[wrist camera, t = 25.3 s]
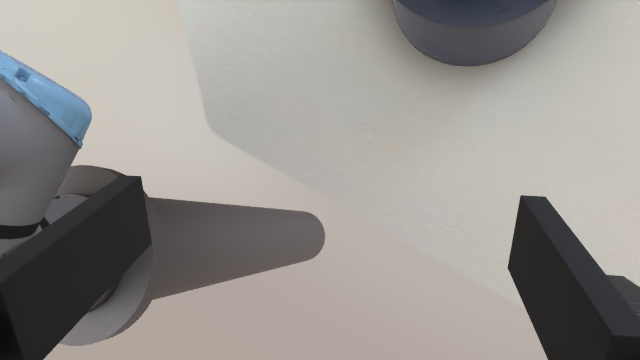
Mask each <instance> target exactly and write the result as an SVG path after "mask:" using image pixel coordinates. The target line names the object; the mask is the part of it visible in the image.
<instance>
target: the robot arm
mask: <svg viewBox="0 0 640 360" xmlns="http://www.w3.org/2000/svg"><path fill="white" fill-rule="evenodd" d="M91 117H92V114H91V110H90V107H89V106H88V104H87V103H86V102H85V101H84V100H83V99H81V98H80V97H78V96H77V95H75V94H74V93H72V92H71V91H69V90H68V89H66V88H64V87H63V86H61V85H59V84H58V83H56V82H54V81H52V80H51V79H49V78H48V77H46V76H44V75H43V74H41V73H39V72H37V71H36V70H34V69H32V68H30V67H29V66H27V65H25V64H23V63H22V62H20V61H18V60H16V59H14V58H13V57H11V56H9V55H8V54H6V53H4V52H2V51H0V360H43V359H44V358H45V357H46V356H47V355H48V354H49V353H50V352H51V351H52V349H53V348H54V347H55V346H56V345H57V344H58V343H59V342H60V341H61V340H62V339H63V338H64V337H65V336H66V334H67V333H68V332H69V331H70V330H71V329H72V328H73V327H74V326H75V325H76V324H77V323H78V322H79V320H80V319H81V318H82V317H83V316H84V315H85V314H86V313H88V312H90V311H93V310H95V309H96V308H98V307H99V306H101V305H102V304H103V303H105V302H106V301H107V300H108V299H109V297H110V296H111V295H112V294H113V292H114V291H115V289H116V288H117V286H118V284H119V282H120V279H121V277H122V274H123V273H124V272H125V271H126V270H127V269H128V268H129V267H130V266H131V265H132V264H133V263H134V261H135V260H136V259H137V258H138V257H139V256H140V255H141V254H142V253H143V252H144V251H145V250H146V249H147V248H148V246H149V245H150V244H151V243H152V242H151V236H150V230H149V223H148V217H147V211H146V205H145V199H144V192H143V186H142V180H141V176H124V175H121V176H119V177H118V178H117V179H115V180H114V181H112V182H111V183H109V184H108V185H106V186H105V187H104V188H102V189H101V190H99V191H98V192H96V193H95V194H93V195H92V196H88V195H81V194H62V195H57V196H55V194H56V192H57V190H58V188H59V186H60V185H61V183H62V181H63V179H64V177H65V175H66V173H67V171H68V169H69V167H70V165H71V164H72V162H73V160H74V158H75V156H76V154H77V152H78V150H79V149H81V147H82V145H83V144H82V140H83V138H84V135H85V133H86V131H87V129H88V127H89V124H90V122H91ZM508 269H509V272H510V274H511V276H512V278H513V281H514V283H515V285H516V288H517V290H518V292H519V294H520V297H521V299H522V301H523V303H524V306H525V308H526V310H527V313H528V315H529V317H530V319H531V321H532V324H533V326H534V328H535V331H536V333H537V335H538V337H539V340H540V342H541V344H542V347H543V349H544V351H545V353H546V356H547V358H548V360H640V287H639V286H637V285H635V284H634V283H632V282H631V281H629V280H628V279H626V278H625V277H623V276H613V275H606V274H605V273H604V272H603V270H602V269H601V268H600V267H599V265H598V264H597V263H596V261H595V260H594V259H593V258H592V256H591V255H590V254H589V252H588V251H587V250H586V249H585V247H584V246H583V245H582V243H581V242H580V241H579V239H578V238H577V237H576V236H575V234H574V233H573V232H572V230H571V229H570V228H569V227H568V225H567V224H566V223H565V221H564V220H563V219H562V218H561V216H560V215H559V214H558V212H557V211H556V210H555V209H554V207H553V206H552V205H551V203H550V202H549V201H548V199H547V198H546V197H539V196H521V197H520V202H519V208H518V214H517V219H516V225H515V230H514V236H513V241H512V247H511V253H510V258H509V264H508Z"/></svg>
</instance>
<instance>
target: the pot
mask: <svg viewBox="0 0 640 360" xmlns="http://www.w3.org/2000/svg"><path fill="white" fill-rule="evenodd" d="M556 2H557V0H392V3H393V7H394V11H395V15H396V18H397V21H398V24H399V26H400V28H401V30H402V32H403V33H404V35H405V36H406V38H407V39H408V40H409V42H410V43H411V44H412V45H413V46H414V47H415V48H417V49H418V50H419V51H421V52H422V53H423V54H425V55H427V56H428V57H430V58H432V59H434V60H437V61H440V62H442V63H447V64H451V65H458V66H476V65H483V64H488V63H492V62H495V61H498V60H501V59H503V58H506V57H508V56H510V55H511V54H513V53H515V52H517V51H518V50H520V49H521V48H523V47H524V46H525V45H527V44H528V43H529V42H530V41H531V40H532V39H533V38H534V37H535V36H536V35H537V34H538V33H539V32H540V31H541V29H542V28H543V27H544V25H545V24H546V22H547V21H548V19H549V17H550V15H551V13H552V11H553V9H554V6H555V4H556Z"/></svg>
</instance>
